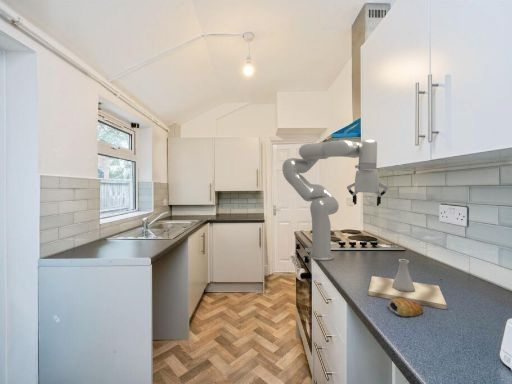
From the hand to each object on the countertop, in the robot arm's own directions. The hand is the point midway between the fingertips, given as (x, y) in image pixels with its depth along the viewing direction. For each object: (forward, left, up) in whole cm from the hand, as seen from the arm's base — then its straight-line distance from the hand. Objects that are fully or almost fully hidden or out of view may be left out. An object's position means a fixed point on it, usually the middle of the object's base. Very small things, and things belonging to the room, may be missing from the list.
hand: (366, 204), depth 115 cm
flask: (+14, -22, -28) cm, 38 cm away
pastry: (+14, -37, -30) cm, 49 cm away
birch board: (+14, -22, -29) cm, 39 cm away
